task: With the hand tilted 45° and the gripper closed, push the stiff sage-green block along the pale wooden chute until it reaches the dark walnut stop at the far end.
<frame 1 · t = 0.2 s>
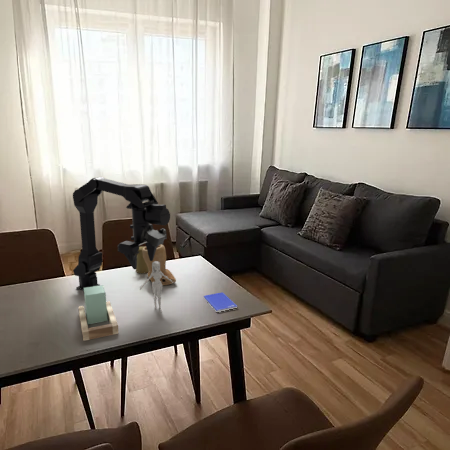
hand: (143, 264, 129), 15 cm above the table, tool pointing down, fingers open, 9 cm apart
sage block: (95, 304, 119), point 6 cm above the table, slide at 0.0 cm
chute: (98, 326, 117), on the table
hard drive: (220, 305, 135), on the table
tan hollow piece: (158, 280, 154), on the table
human figurine: (157, 310, 128), on the table
cork: (142, 271, 163), on the table
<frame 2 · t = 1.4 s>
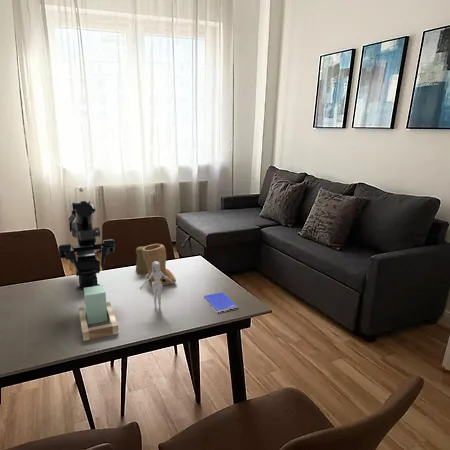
hand: (90, 270, 127), 13 cm above the table, tool tilted 45°, fingers open, 8 cm apart
nothing on the table moved.
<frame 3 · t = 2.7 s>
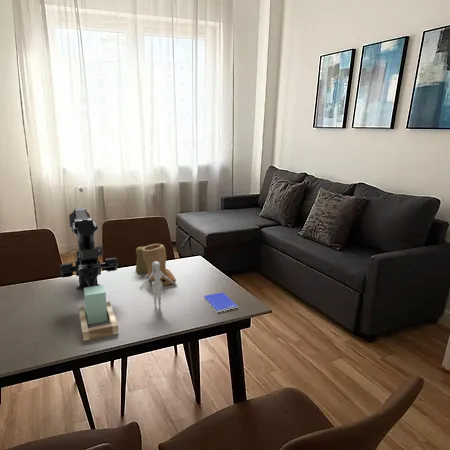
hand: (92, 290, 125), 8 cm above the table, tool tilted 45°, fingers closed
nothing on the table moved.
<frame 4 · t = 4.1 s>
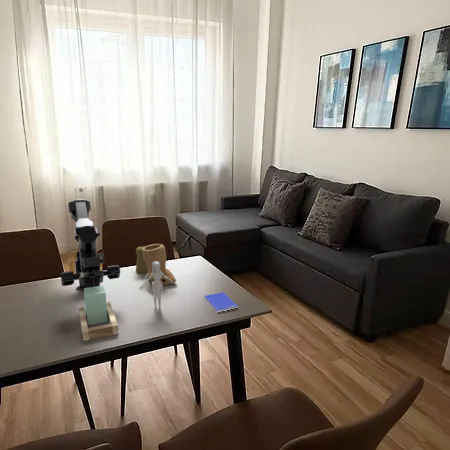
hand: (94, 298, 121), 7 cm above the table, tool tilted 45°, fingers closed, pressing on sage block
sage block: (95, 304, 118), point 6 cm above the table, slide at 0.4 cm, touching gripper
everything else where it was.
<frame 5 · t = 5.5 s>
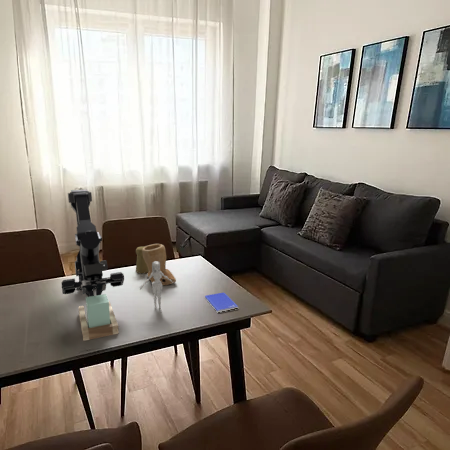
hand: (96, 308, 115), 7 cm above the table, tool tilted 45°, fingers closed, pressing on sage block
sage block: (98, 314, 112), point 6 cm above the table, slide at 7.3 cm, touching gripper
everything else where it was.
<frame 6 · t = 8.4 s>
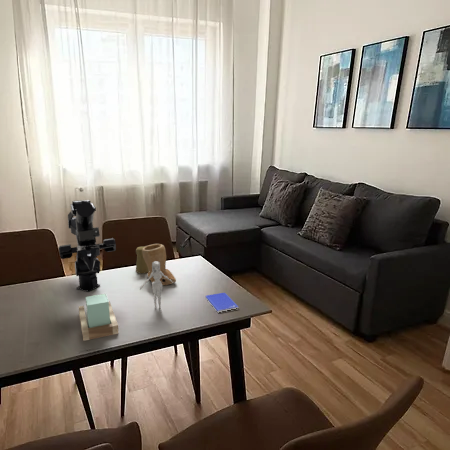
hand: (91, 270, 127), 14 cm above the table, tool tilted 45°, fingers closed
sage block: (98, 314, 112), point 6 cm above the table, slide at 7.0 cm
everything else where it was.
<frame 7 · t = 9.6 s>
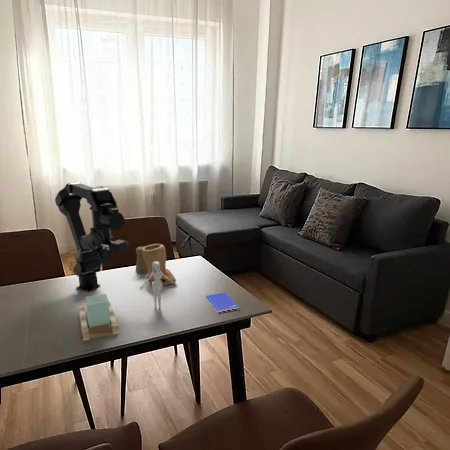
hand: (104, 265, 133), 13 cm above the table, tool pointing down, fingers closed
nothing on the table moved.
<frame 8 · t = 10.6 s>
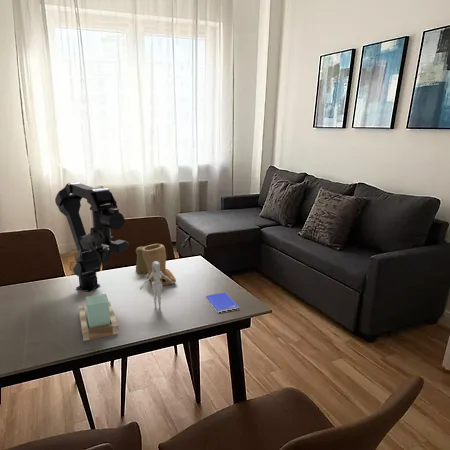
hand: (104, 265, 133), 13 cm above the table, tool pointing down, fingers closed
nothing on the table moved.
at the end: sage block slide at 7.0 cm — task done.
